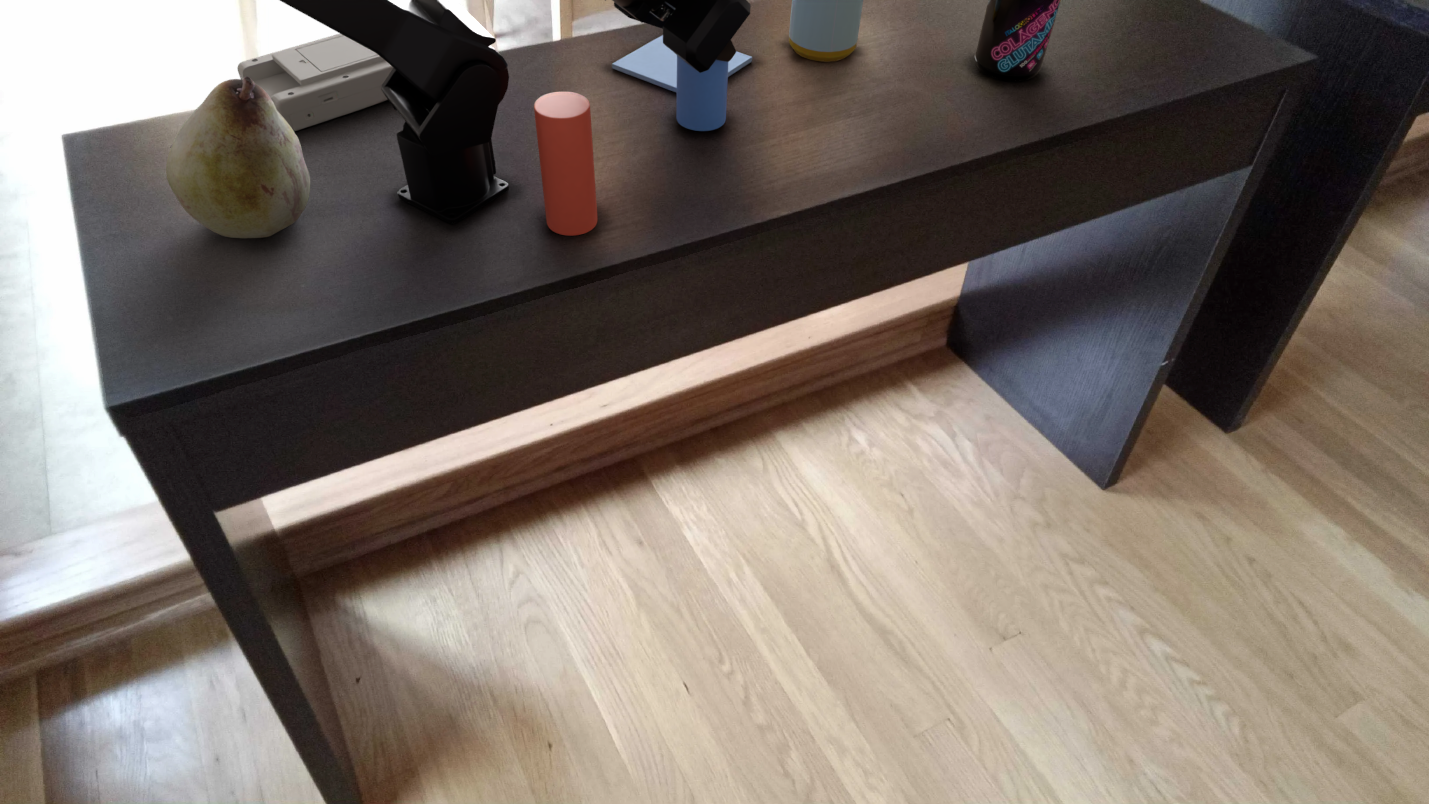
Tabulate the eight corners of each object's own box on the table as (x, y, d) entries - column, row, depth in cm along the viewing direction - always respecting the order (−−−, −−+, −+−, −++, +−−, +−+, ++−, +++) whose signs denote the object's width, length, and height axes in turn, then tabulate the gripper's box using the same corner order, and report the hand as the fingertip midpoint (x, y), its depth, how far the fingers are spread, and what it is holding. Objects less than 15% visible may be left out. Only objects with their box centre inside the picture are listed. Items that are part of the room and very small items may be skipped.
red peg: (574, 242, 73) (564, 124, 66) (536, 223, 75) (521, 106, 68) (607, 218, 76) (601, 102, 68) (569, 201, 77) (559, 85, 70)
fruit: (328, 248, 72) (282, 101, 63) (193, 273, 69) (126, 123, 60) (315, 178, 78) (271, 36, 70) (191, 198, 76) (130, 53, 67)
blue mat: (694, 99, 90) (694, 94, 89) (611, 68, 94) (611, 63, 93) (752, 61, 96) (752, 56, 95) (672, 33, 99) (672, 29, 99)
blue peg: (706, 136, 84) (710, 25, 77) (666, 120, 86) (666, 11, 79) (735, 116, 87) (741, 8, 80) (695, 102, 89) (697, -6, 82)
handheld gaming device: (383, 14, 92) (392, 52, 94) (231, 57, 85) (246, 97, 87) (429, 46, 87) (437, 85, 90) (273, 96, 80) (286, 136, 83)
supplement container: (968, 77, 95) (994, -30, 87) (976, 48, 99) (1001, -56, 92) (1037, 89, 93) (1069, -19, 86) (1042, 59, 98) (1072, -45, 91)
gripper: (735, -127, 63) (843, 6, 75) (601, -196, 74) (715, -70, 86) (634, 15, 65) (755, 121, 78) (519, -72, 76) (641, 33, 88)
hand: (716, 45), depth 82 cm, fingers closed on blue peg, 4 cm apart
